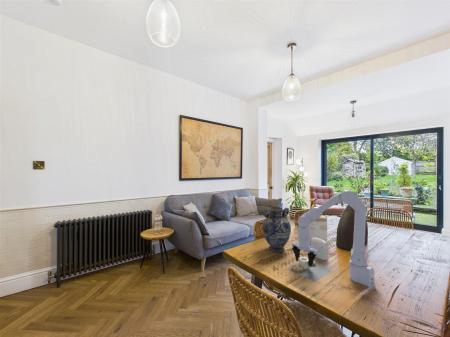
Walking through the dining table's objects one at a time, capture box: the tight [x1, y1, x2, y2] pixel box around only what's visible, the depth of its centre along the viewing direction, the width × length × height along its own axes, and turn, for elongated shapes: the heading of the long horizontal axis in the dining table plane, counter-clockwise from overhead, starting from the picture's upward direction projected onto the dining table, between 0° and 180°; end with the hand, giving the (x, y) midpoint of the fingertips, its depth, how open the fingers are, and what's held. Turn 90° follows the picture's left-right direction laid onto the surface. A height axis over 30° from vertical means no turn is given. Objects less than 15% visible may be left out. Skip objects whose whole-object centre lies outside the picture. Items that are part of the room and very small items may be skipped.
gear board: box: [286, 257, 334, 282], centre depth 107 cm, size 16×18×6 cm
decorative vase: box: [262, 206, 292, 253], centre depth 139 cm, size 21×19×28 cm
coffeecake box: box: [309, 215, 328, 245], centre depth 151 cm, size 15×7×20 cm, turn 80°
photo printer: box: [310, 238, 329, 261], centre depth 123 cm, size 10×4×12 cm, turn 25°
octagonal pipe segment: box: [297, 256, 310, 269], centre depth 110 cm, size 5×5×4 cm
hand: (304, 263), depth 110 cm, fingers open, 7 cm apart
